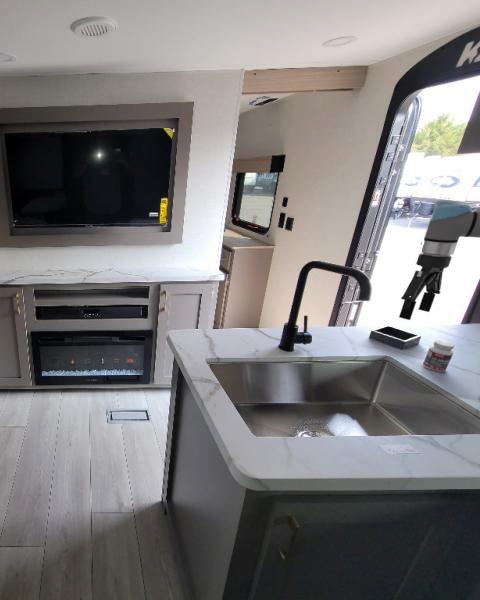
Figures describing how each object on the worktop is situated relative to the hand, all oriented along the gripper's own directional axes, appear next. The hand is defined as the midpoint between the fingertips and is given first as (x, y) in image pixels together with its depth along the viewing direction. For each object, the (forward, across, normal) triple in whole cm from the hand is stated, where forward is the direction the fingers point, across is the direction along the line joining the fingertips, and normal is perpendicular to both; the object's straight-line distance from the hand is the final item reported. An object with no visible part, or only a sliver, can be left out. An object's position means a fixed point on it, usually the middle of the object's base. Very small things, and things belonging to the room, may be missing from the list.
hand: (414, 314), depth 112 cm
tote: (+19, -19, -9) cm, 29 cm away
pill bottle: (+20, -7, +8) cm, 22 cm away
